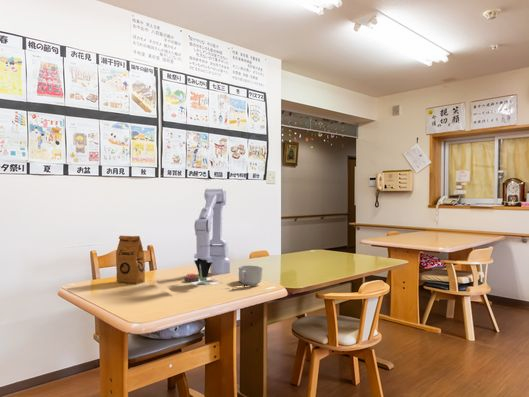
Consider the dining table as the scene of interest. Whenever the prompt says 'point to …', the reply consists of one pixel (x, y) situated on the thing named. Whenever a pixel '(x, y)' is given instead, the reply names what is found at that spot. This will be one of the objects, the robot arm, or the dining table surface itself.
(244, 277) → the teacup
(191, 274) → the button
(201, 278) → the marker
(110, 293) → the dining table surface
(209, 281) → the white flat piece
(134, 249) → the coffee package
